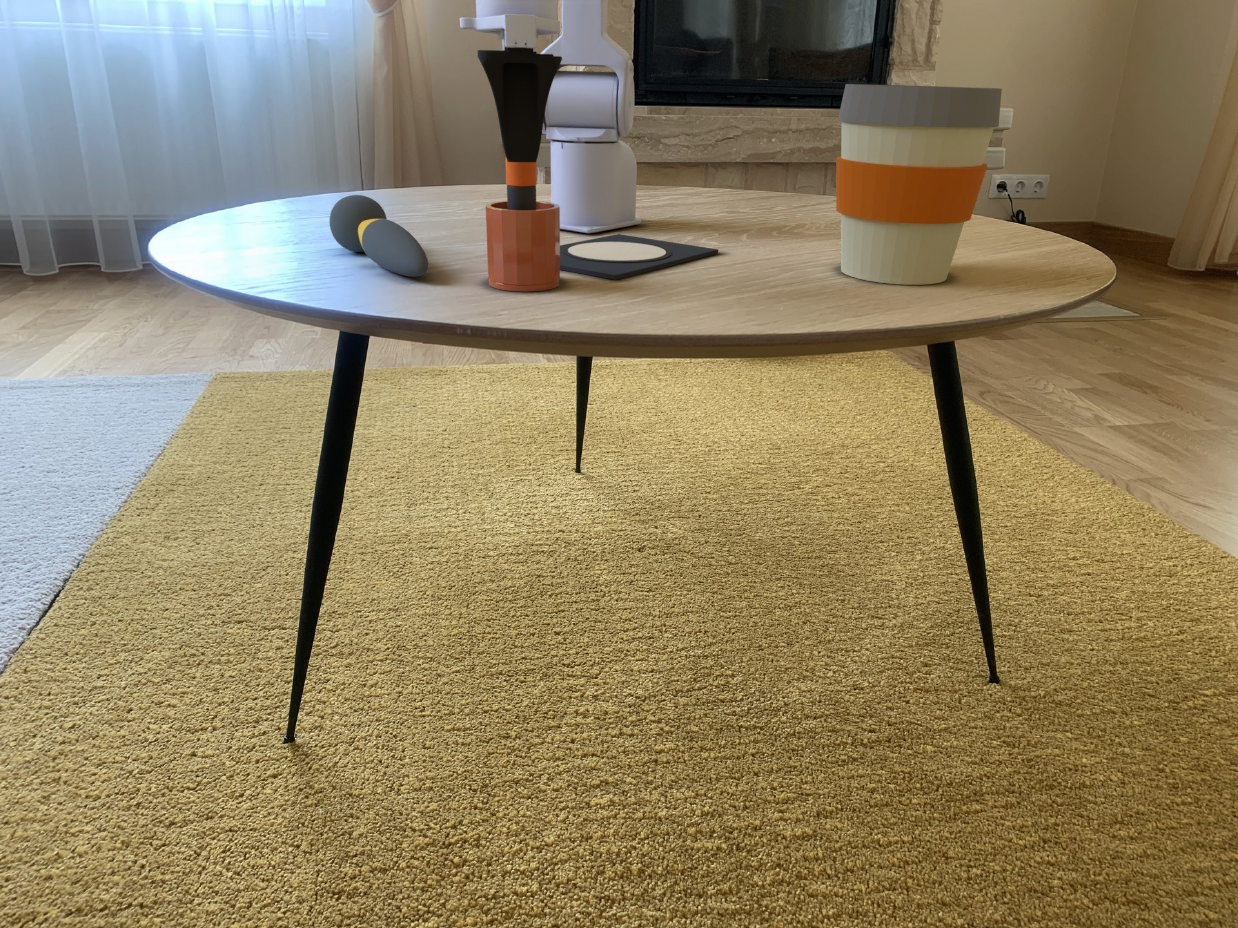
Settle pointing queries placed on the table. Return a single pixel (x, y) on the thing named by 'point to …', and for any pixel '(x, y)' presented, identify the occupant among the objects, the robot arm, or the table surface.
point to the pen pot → (523, 247)
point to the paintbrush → (376, 236)
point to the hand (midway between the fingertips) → (520, 157)
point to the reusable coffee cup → (909, 176)
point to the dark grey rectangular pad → (626, 255)
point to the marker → (521, 185)
